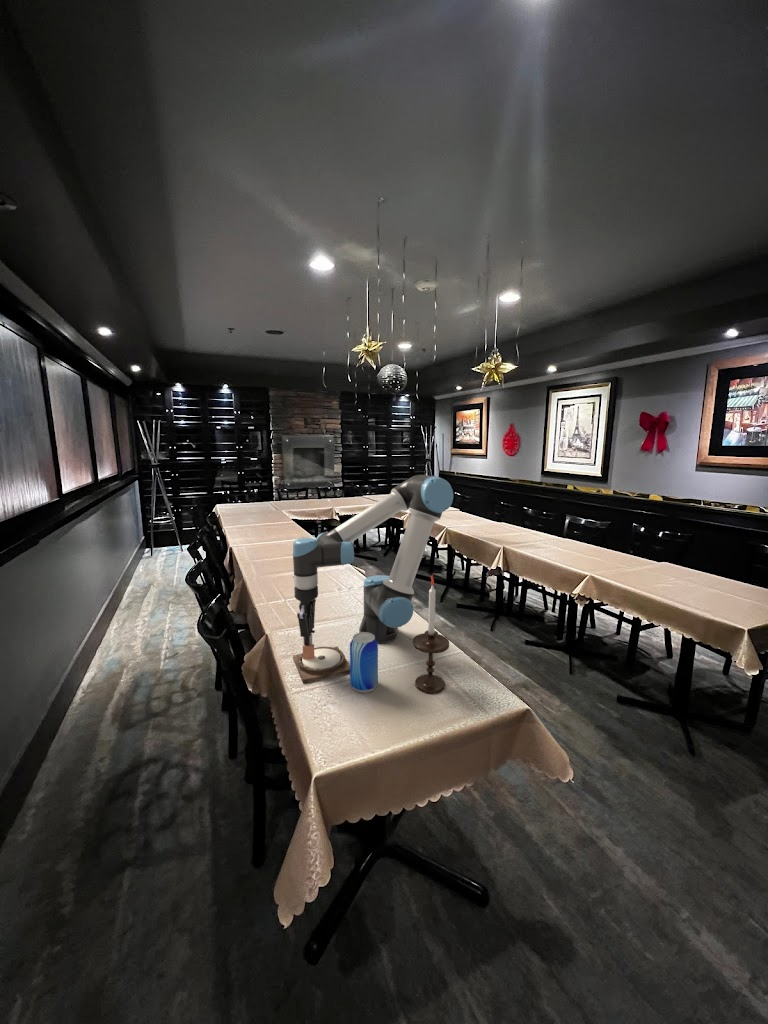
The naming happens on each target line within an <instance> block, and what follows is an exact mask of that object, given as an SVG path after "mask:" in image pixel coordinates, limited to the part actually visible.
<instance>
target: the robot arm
mask: <svg viewBox="0 0 768 1024" xmlns="http://www.w3.org/2000/svg"><path fill="white" fill-rule="evenodd" d="M453 500H454V491H453V488H452V486H451V484H450V483H449V481H448V480H446V479H444V478H442V477H439V476H436V475H426V474H416V475H413V476H411V477H410V478H408V479H406V480H404V481H402V482H401V483H400V484H398V485H396V486H395V487H393V488H392V489H391V491H390V493H389V494H387V495H386V496H384V497H382V498H381V499H380V500H378V501H376V502H375V503H373V504H371V505H370V506H367V508H365V509H363V510H362V511H360V512H358V513H357V514H356V515H353V517H351V518H349V519H348V520H346V521H344V522H343V523H341V524H339V526H337V527H335V528H333V529H331V530H330V531H329V532H321V533H320V534H318V535H317V537H316V539H315V538H313V537H300V538H297V539H295V540H294V541H293V544H292V560H293V561H292V563H293V575H292V579H294V580H293V583H294V587H293V589H294V598H295V599H296V600H298V601H299V604H298V608H299V612H298V613H297V614H296V618H297V619H298V620H297V621H298V626H299V633H300V637H301V638H303V641H302V642H303V645H304V644H305V645H309V644H314V642H313V634H314V633H315V632H316V631H315V630H313V629H315V617H316V615H315V614H316V613H315V612H316V602H317V598H318V596H319V586H318V585H319V582H318V581H319V579H318V578H319V576H318V568H326V567H335V566H345V565H346V566H347V565H350V564H353V562H354V560H355V559H354V558H355V551H354V550H355V549H354V545H353V543H352V542H355V541H356V540H357V539H358V538H360V537H362V536H363V535H365V534H367V533H369V532H370V531H371V530H373V529H375V528H376V527H377V526H380V525H381V524H382V523H384V522H386V521H387V520H388V519H390V518H392V517H393V516H394V515H397V514H398V513H400V512H401V511H402V512H403V511H404V512H406V511H408V510H409V513H410V515H409V519H408V522H407V524H406V527H405V531H404V533H403V537H402V539H401V542H400V545H399V547H398V551H397V554H396V556H395V560H394V563H393V565H392V568H391V570H390V575H380V574H379V575H371V576H368V577H366V578H365V579H364V580H363V616H362V618H361V619H362V620H361V623H360V626H359V630H358V631H359V632H358V633H361V632H368V633H371V634H373V635H374V636H375V639H376V641H377V643H379V644H382V643H387V642H388V643H389V642H391V641H394V640H396V638H397V637H398V636H399V628H401V627H403V626H405V625H406V624H408V623H409V622H410V621H411V620H412V618H413V615H414V605H413V603H412V600H413V597H414V595H415V591H414V589H413V584H414V581H415V579H416V575H417V573H418V569H419V567H420V563H421V561H422V558H423V555H424V552H425V549H426V548H427V545H428V541H429V539H430V535H431V533H432V530H433V527H434V524H435V523H436V522H437V521H439V520H441V518H442V514H443V513H444V512H445V511H446V510H448V509H450V508H451V506H452V504H453Z"/></svg>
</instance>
